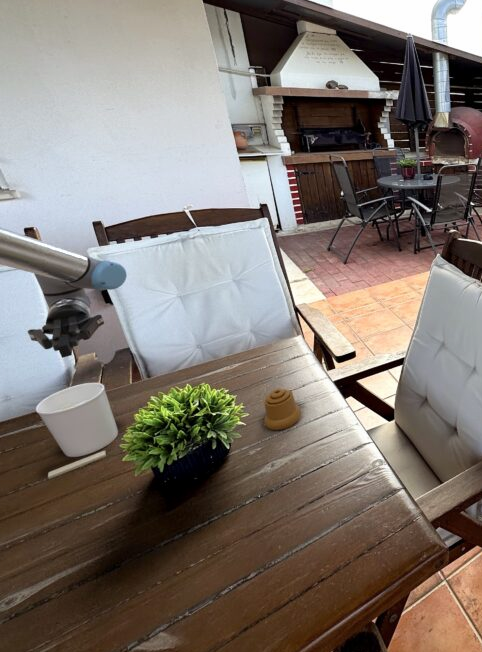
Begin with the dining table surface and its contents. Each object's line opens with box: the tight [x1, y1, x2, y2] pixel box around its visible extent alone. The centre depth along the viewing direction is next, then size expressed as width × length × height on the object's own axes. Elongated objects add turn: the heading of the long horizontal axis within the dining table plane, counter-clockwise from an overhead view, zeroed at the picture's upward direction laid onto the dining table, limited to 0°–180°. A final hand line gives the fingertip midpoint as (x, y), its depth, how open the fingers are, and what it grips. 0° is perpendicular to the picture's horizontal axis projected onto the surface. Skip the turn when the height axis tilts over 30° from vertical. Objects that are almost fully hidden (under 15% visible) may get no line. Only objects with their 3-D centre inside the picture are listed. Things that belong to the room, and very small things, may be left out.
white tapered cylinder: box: [35, 382, 119, 458], centre depth 84 cm, size 10×10×12 cm
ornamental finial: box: [263, 388, 302, 431], centre depth 91 cm, size 8×8×8 cm
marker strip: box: [47, 450, 107, 480], centre depth 80 cm, size 8×2×1 cm, turn 135°
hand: (64, 351), depth 89 cm, fingers closed
